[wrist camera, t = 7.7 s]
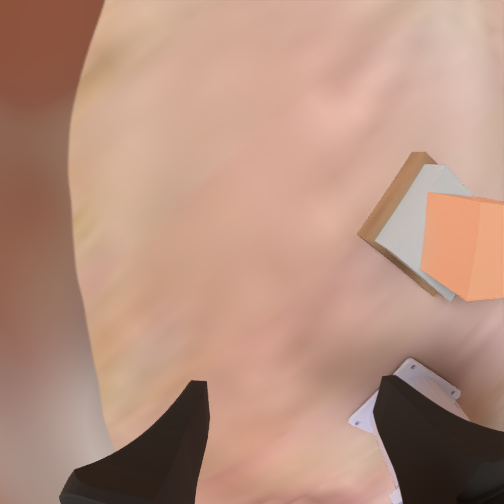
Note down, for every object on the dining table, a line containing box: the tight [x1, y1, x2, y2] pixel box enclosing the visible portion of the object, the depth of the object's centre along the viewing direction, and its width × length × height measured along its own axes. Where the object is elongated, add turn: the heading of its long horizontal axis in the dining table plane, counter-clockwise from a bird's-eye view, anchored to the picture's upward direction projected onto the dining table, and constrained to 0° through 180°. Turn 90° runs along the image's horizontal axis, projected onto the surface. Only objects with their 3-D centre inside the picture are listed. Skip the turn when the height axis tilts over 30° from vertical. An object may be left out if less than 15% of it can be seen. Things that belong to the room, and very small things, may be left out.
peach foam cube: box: [420, 192, 504, 301], centre depth 14 cm, size 4×4×5 cm
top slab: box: [375, 164, 474, 302], centre depth 17 cm, size 6×6×2 cm
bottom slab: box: [357, 152, 438, 296], centre depth 20 cm, size 7×7×2 cm
